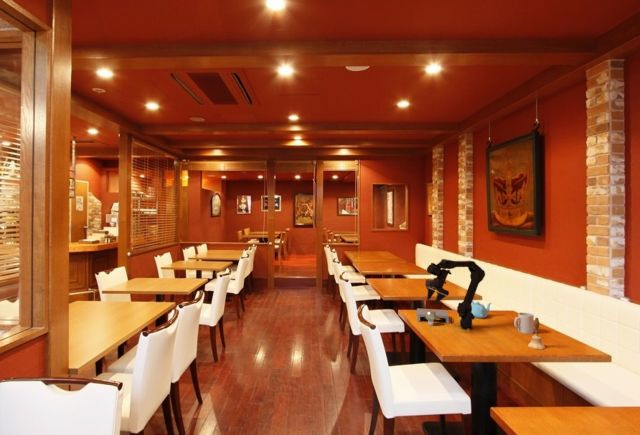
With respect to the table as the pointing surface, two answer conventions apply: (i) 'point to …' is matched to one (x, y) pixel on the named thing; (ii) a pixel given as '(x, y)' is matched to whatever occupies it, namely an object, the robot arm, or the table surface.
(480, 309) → the teapot
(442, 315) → the base
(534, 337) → the hand bell
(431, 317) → the grey beige cylinder
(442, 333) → the table surface
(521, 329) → the mug
